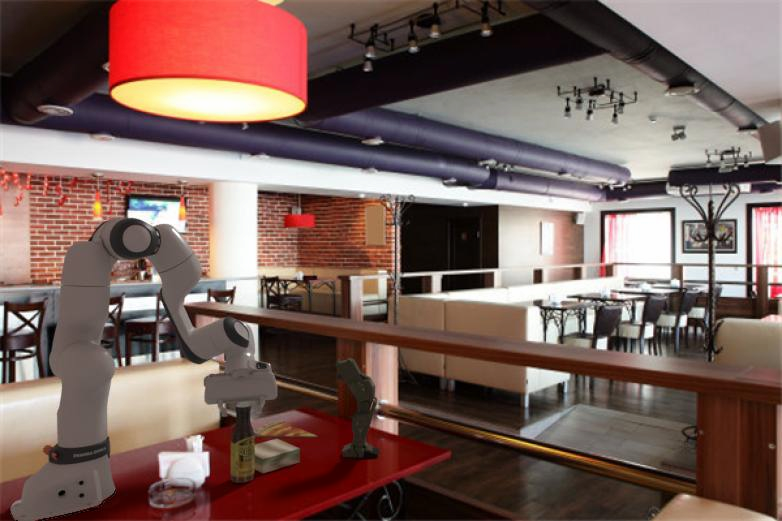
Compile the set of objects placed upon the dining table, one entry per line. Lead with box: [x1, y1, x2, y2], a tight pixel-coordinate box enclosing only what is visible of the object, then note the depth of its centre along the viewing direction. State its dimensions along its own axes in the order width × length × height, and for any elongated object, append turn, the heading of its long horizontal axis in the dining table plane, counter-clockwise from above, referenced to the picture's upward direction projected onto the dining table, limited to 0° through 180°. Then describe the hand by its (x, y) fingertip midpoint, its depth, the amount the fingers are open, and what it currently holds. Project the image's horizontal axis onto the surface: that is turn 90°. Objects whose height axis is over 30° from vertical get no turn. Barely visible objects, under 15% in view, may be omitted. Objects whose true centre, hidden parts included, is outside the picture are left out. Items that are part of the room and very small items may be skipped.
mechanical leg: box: [335, 357, 381, 459], centre depth 173 cm, size 14×7×30 cm, turn 84°
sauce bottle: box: [230, 403, 256, 484], centre depth 155 cm, size 7×6×20 cm
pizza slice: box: [253, 418, 318, 438], centre depth 192 cm, size 16×22×2 cm
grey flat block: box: [255, 438, 301, 474], centre depth 167 cm, size 12×12×4 cm
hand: (241, 414), depth 162 cm, fingers open, 8 cm apart
